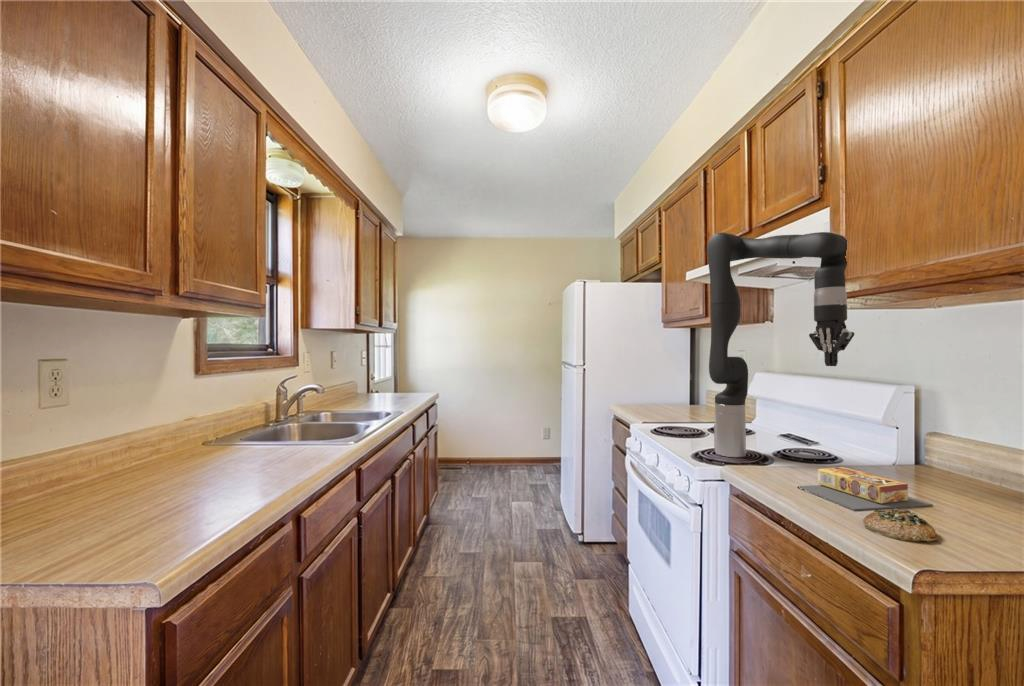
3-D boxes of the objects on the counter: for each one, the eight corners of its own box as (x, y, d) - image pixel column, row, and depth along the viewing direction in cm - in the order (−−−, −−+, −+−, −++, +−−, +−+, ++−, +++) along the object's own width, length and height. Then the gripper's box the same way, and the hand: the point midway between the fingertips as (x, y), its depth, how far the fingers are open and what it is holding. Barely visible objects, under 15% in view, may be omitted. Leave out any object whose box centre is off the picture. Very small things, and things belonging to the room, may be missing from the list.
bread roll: (894, 518, 91) (896, 495, 91) (954, 549, 80) (957, 524, 80) (847, 523, 90) (849, 500, 89) (902, 555, 79) (904, 530, 78)
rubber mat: (797, 487, 111) (797, 486, 111) (866, 484, 114) (866, 482, 114) (853, 510, 95) (853, 509, 95) (932, 506, 98) (932, 504, 98)
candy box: (816, 484, 113) (880, 505, 98) (816, 468, 113) (880, 486, 98) (842, 481, 115) (908, 501, 100) (842, 465, 115) (908, 483, 100)
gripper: (799, 306, 127) (800, 365, 127) (838, 301, 114) (839, 367, 114) (822, 306, 128) (823, 365, 128) (863, 301, 115) (865, 366, 115)
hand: (831, 366), depth 121 cm, fingers closed
